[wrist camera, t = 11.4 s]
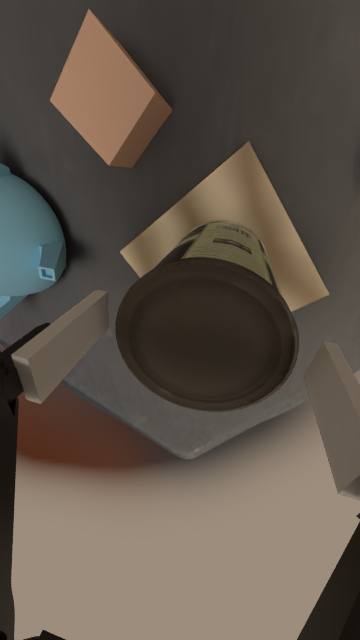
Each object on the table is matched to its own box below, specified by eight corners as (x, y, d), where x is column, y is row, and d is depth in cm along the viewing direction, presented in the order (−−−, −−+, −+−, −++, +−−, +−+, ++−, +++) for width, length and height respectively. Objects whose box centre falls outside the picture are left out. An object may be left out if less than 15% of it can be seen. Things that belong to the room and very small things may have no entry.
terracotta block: (122, 45, 20) (88, 8, 15) (172, 110, 21) (155, 92, 17) (85, 115, 22) (49, 100, 18) (132, 168, 24) (108, 165, 20)
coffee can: (182, 317, 29) (141, 410, 17) (162, 229, 25) (88, 274, 13) (271, 310, 26) (297, 417, 14) (269, 209, 22) (303, 243, 10)
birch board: (248, 143, 21) (248, 141, 19) (325, 288, 25) (329, 294, 24) (125, 248, 28) (119, 252, 27) (202, 346, 33) (200, 353, 31)
